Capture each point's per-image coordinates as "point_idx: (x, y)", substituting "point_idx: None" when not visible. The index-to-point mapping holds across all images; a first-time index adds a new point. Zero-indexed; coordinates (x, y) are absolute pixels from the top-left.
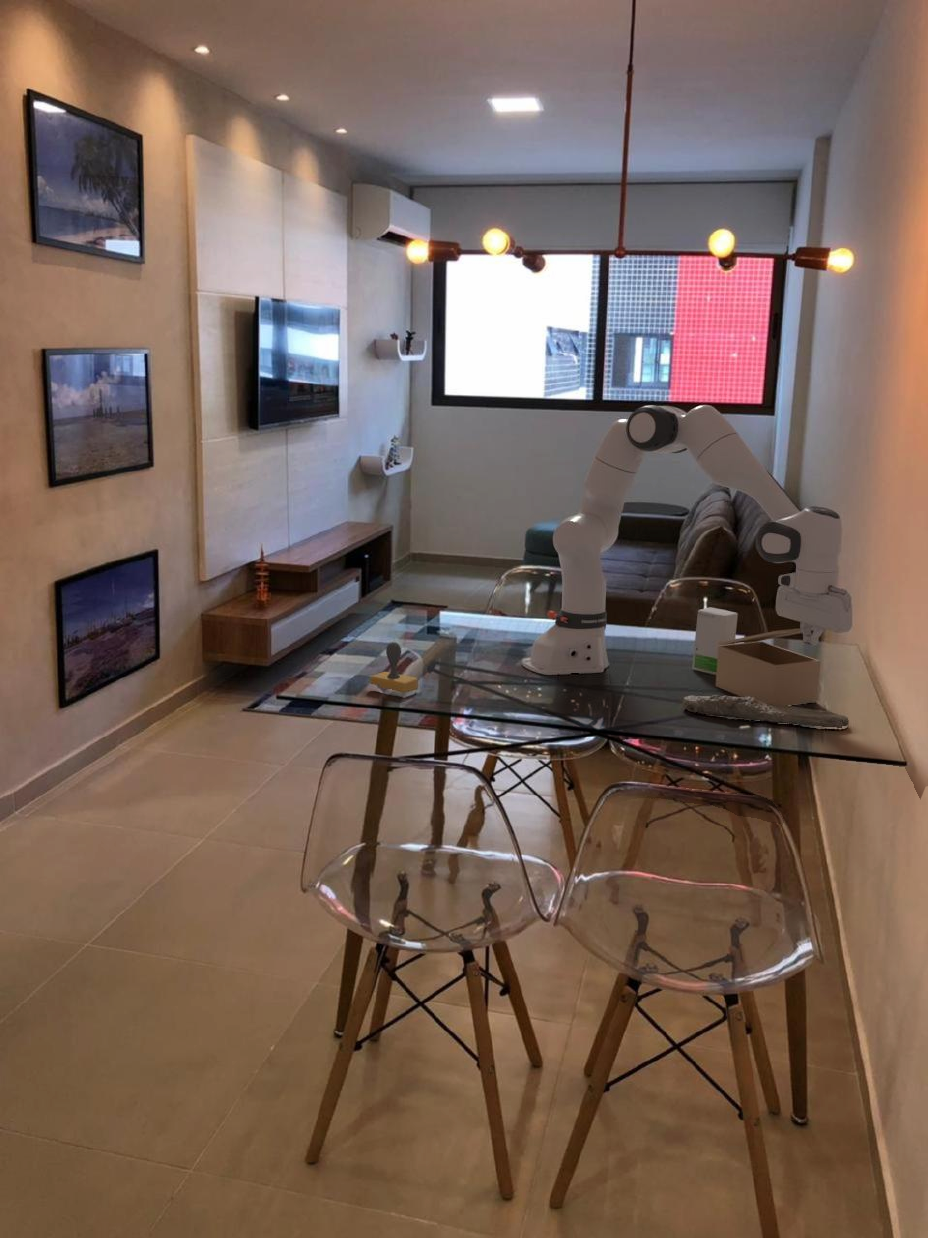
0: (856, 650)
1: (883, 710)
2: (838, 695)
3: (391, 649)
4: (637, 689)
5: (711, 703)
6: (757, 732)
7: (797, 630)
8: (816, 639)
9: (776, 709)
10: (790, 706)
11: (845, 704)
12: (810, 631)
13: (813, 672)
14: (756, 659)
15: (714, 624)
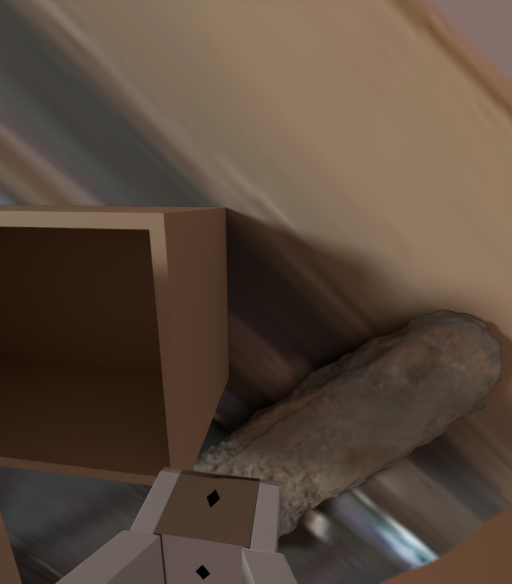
0: None
1: (406, 15)
2: (175, 44)
3: None
4: (4, 516)
5: None
6: (365, 530)
7: (4, 572)
8: (277, 550)
9: (320, 469)
10: (310, 411)
11: (277, 114)
12: (123, 576)
13: (190, 250)
14: (65, 473)
15: None
